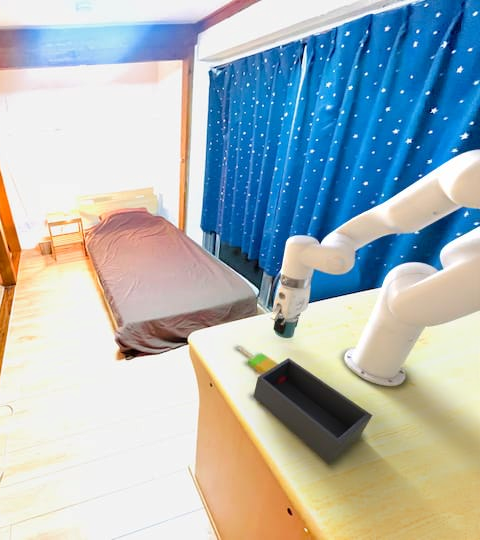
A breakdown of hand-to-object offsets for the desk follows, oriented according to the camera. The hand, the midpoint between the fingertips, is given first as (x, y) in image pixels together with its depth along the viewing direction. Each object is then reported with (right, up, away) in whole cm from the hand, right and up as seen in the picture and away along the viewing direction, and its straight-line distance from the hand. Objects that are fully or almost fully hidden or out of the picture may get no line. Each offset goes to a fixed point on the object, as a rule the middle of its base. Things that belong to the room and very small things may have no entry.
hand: (284, 328), depth 87 cm
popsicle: (-11, -9, -6) cm, 16 cm away
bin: (-8, -17, -20) cm, 28 cm away
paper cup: (0, -2, +1) cm, 2 cm away
